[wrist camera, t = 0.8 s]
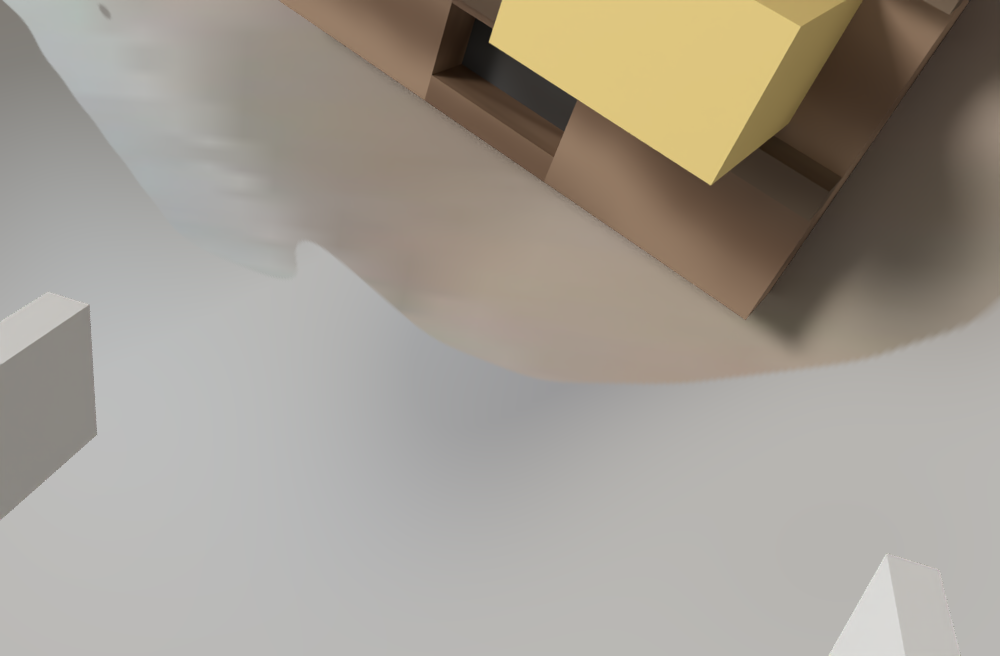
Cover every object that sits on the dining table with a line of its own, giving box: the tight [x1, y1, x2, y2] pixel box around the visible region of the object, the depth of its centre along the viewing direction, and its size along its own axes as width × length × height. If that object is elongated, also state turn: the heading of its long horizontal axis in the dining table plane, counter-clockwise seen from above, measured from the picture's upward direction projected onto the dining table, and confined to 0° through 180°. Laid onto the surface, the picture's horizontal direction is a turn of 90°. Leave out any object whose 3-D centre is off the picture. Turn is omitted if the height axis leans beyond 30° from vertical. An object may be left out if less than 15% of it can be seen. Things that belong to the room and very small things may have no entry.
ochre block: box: [489, 0, 863, 185], centre depth 33 cm, size 6×10×8 cm, turn 69°
